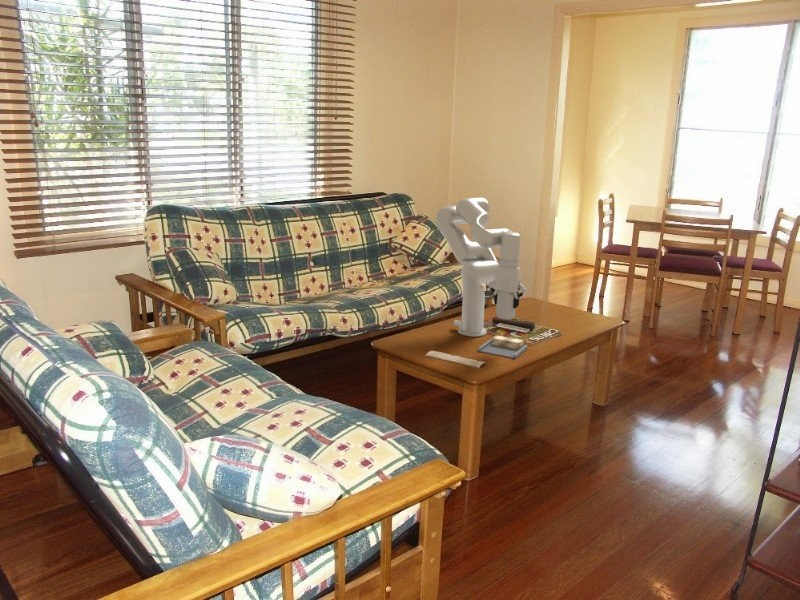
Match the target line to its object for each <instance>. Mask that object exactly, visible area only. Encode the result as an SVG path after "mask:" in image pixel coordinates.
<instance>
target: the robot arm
mask: <svg viewBox="0 0 800 600" xmlns="http://www.w3.org/2000/svg"><path fill="white" fill-rule="evenodd" d="M489 212H490V204H489V202H488V200H487V199H486V198H484V197H480V196H479V197H465V198H462V199H459V200H458V202H457V203H456V204H455V205H445V206H443V207H441V208H439V209H438V211H437V213H436V216H435V217H436V218H435V220H436V225H437V228H438V231H439V232H440V234H441V235H442V237H443V238H444V239H445V240H446V242H447V244H448V245H449V247H450V250H451V252H452V253H453V255H454V257H455V260H456V261H457V262H458V263H459V264H461V265H462V267H461V269H460V270H461V271H460V272H461V273H460V276H461V282H462V304H461V306H462V307H461V320H457V319H454V320H453V326H455V327H458V328H457V333H458V334H460V335H462V336H465V337H483V336H485V335H486V334H487V329H486V328H485V327H484V320H485V302H486V301H485V300H486V295H485V290H484V289H483V287H482V284H485V283H488V284H487V285H488V287H489V289H490V291H491V292H492V293H493V303H494V305H495V306H497V293H498V291H501V290H503V291H508V292H509V293H513V294H514V296H515V299H514V304H513V308H515V309H516V308H518V307H519V306H520V298H521V297H522V296H524V295H525V294H526V293H527V291H528V289H527V288H526V287H525V286H524V285H523V284H522V278H521V277H522V276H521V268H520V266H519V262H520V249H521V235H520V233H518V232H515V231H512V230H511V229H510V228H507V227H502V228H490V229H485V228H486V227H487V226H488V224H489V223H490V216H489ZM466 224H468V225H469V226H470V234H471V237H472V239H473V241H472V240H470V239H469V238H468V237H467V235H466V233H465V232H464V231H463V230H462V229H461V228H460V227H458V226H457V225H466ZM494 248H500V249H499V250H500V251H499V258H496V256H495V255H494V253H493V251H492V249H494ZM520 291H521V292H520Z"/></svg>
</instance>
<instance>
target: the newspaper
mask: <svg viewBox="0 0 800 600" xmlns="http://www.w3.org/2000/svg"><path fill="white" fill-rule="evenodd" d="M425 356H426V357H428V356H429V358H432V359H433V358H434V359H438V360H442V361H446V362H451V363H455V364H460V365H463V366H469V367H472V368H477V369H480V367H481V366H482V365H483V364H487V362H485V361H481V360H480V361H479V360H476V359H471V358H467V357H463V356H459V355H453V354H448V353H445V352H441V351H435V350H429V351H428V352H427V353H426V354H425Z"/></svg>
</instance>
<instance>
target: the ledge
mask: <svg viewBox="0 0 800 600" xmlns="http://www.w3.org/2000/svg"><path fill="white" fill-rule="evenodd" d="M492 339H493V340H492V344H493V345H498V346H503V347H509V348H514V349H519V350H520V349H521V348H522V347H523V346H524V340H523V339H518V338H512V337H508V336H503V335H502V336H501V335H494V336H493V337H492Z"/></svg>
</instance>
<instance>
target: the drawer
mask: <svg viewBox="0 0 800 600" xmlns="http://www.w3.org/2000/svg"><path fill="white" fill-rule="evenodd" d="M492 340H493V337H492V338H490V339H489V340H488V341H486V342H484V343H483V344H482V345H480V346H479V347H478V350H477V351H478V352H479V353H485V354H489V355H494V356H499V357H504V358H508V359H509V358H510V359H517V358H518V357H520V356H521V355H522V354H523V353H524V352H526V350H528V348H529V345H528V344H524V345H523V347H522V348H521V349H520V350H519V349H514V348H509V347H503V346H498V345H493V344H492Z"/></svg>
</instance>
